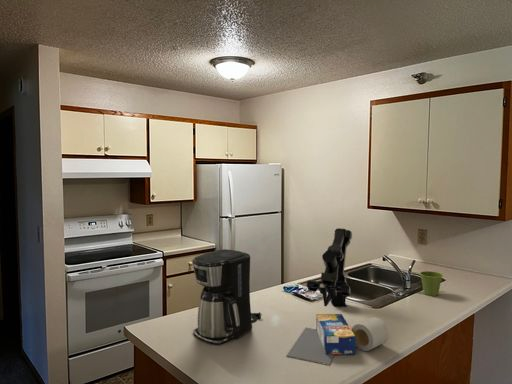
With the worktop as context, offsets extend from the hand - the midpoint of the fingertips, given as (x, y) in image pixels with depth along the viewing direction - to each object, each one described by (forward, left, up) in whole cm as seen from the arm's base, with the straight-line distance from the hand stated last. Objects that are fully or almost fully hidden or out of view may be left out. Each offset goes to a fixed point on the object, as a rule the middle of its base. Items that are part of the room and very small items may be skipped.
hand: (325, 306), depth 163 cm
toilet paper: (-14, +16, -10) cm, 24 cm away
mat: (+7, +14, -10) cm, 19 cm away
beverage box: (-2, +1, -7) cm, 7 cm away
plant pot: (-67, -40, -10) cm, 79 cm away
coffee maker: (+40, 0, -10) cm, 41 cm away
